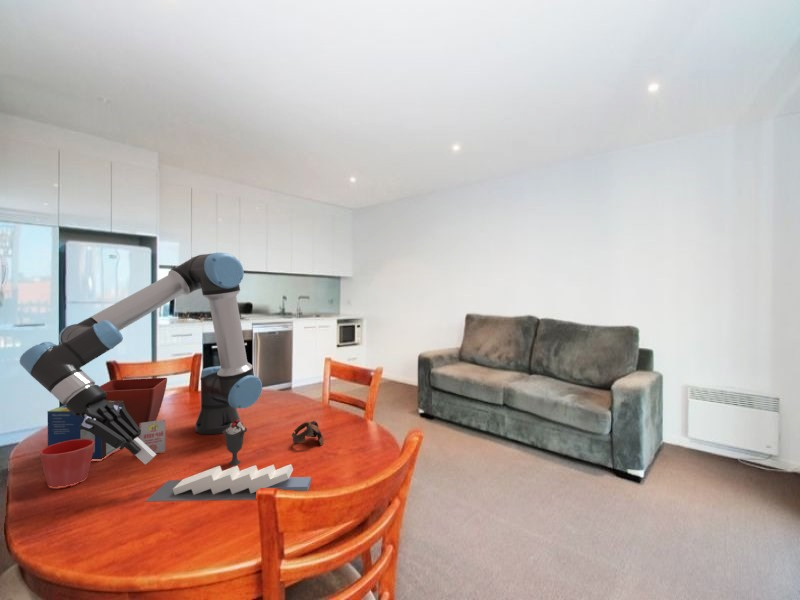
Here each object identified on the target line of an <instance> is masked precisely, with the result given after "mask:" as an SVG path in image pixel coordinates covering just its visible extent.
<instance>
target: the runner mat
mask: <svg viewBox="0 0 800 600" xmlns="http://www.w3.org/2000/svg"><path fill="white" fill-rule="evenodd" d="M182 480H183V479H180V480H177V479H175V480H171V479H170V480H166V482H165V483H163V485H162V486H161V487H159V489H157V490H156V491H155V492H153V494H151V495H150V496H149V497H148V498H146V500H145V501H144V502H183V501H185V502H187V501H189V502H192V501H202V502H203V501H241V500H242V501H246V500H247V501H250V500H252V501H253V500H256V492H254V493H250V490H249V488H247V489H244V490H242V491H239V492H237V493H234V494H232V493H231V490H230V488H229V489H226V490H224V491H221V492H219V493H216V494H213V493H212V490H211V489H208V490H205V491H203V492H200V493H197V494H195V495H193V492H192V490H191V489H190V490H187V491H185V492H182V493H179V494H177V495H175V494H174V492H173V488H174V487H175V486H176V485H178V484H179V483H180V482H181V481H182ZM256 501H257V500H256Z"/></svg>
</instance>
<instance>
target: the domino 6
mask: <svg viewBox="0 0 800 600" xmlns="http://www.w3.org/2000/svg"><path fill="white" fill-rule="evenodd" d="M311 483H312V476H290V477H289V479H287V480H285V481H282V482H279V483H277V484H274V485H272V486H269V487H267V488H278V489H283V490H294V491H308V492H309V490H310V487H311Z"/></svg>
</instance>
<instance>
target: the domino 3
mask: <svg viewBox="0 0 800 600" xmlns="http://www.w3.org/2000/svg"><path fill="white" fill-rule="evenodd" d="M258 470H259V469H258V466H257V465H256V464H255V465H252V466H250V467H247V468H246V467H245V468H244V469H241V470H240V471H239V473H238V474H237V475H236V476H235V478H234V479H233V480H232V481H230V482H227V483H224V484H222V485H219V486H216V487H214V488H211V490H212V493H213V494H216V493H219V492H221V491H224V490H226V489H229V488H232V487H234V486H237V485H240V484H242V483H245V482H247V481H250V480H252V478H253V477H254V475H255V474H256V473H257V471H258Z"/></svg>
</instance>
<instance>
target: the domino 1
mask: <svg viewBox="0 0 800 600" xmlns="http://www.w3.org/2000/svg"><path fill="white" fill-rule="evenodd" d="M222 471H223V469H222V467H221V465H217V466H215V467H212V468H210V469H207V470H204V471H201V472H199V473H196V474H194V475H191V476H189V477H188V476H187V477H185V478H182V479H181V480H182V481H181V482H180V483H179V484H178V485H176V486H175V487H174V488H173V492H174V494H175V495H177V494H179V493H182V492H185V491H187V490H190V489H193V488H195V487H198V486H201V485H203V484H206V483H209V482H211V481H214V480H215V479H216V477H217V476H218V475H219V474H220V473H221V472H222Z"/></svg>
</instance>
